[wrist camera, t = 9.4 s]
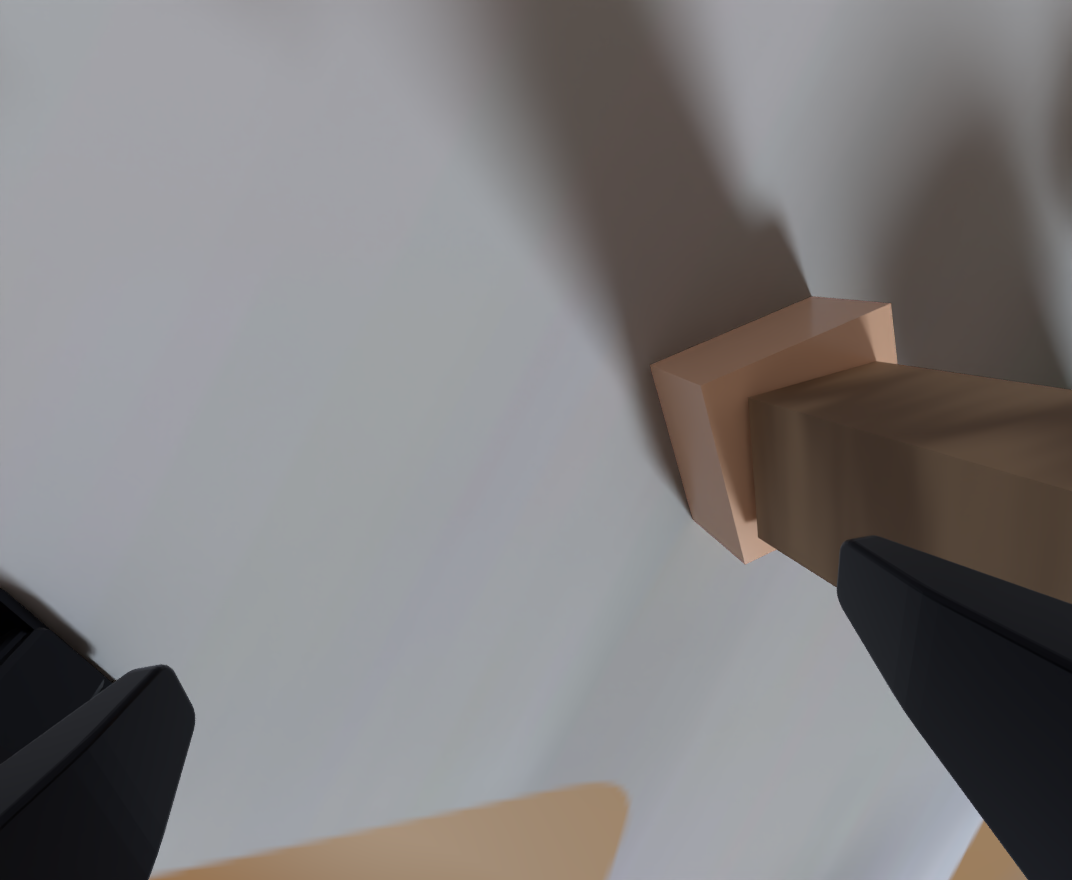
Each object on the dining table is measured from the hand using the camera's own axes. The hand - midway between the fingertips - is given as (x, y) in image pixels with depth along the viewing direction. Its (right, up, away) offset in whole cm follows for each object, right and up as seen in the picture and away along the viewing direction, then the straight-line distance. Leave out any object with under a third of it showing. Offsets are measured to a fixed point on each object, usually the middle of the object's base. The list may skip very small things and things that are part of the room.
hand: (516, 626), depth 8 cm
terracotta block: (+9, +4, +15) cm, 18 cm away
